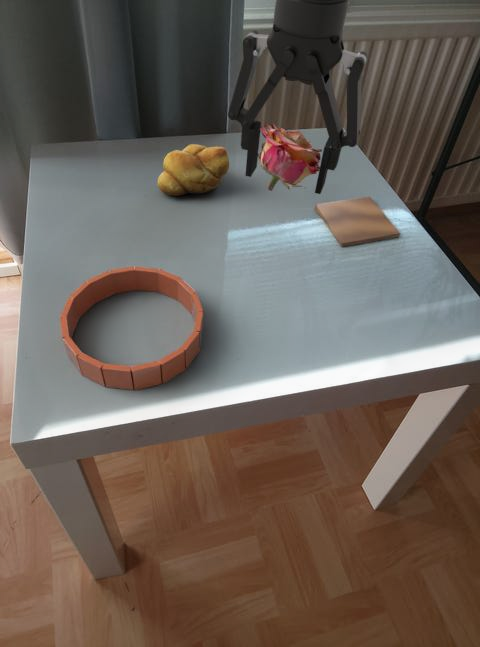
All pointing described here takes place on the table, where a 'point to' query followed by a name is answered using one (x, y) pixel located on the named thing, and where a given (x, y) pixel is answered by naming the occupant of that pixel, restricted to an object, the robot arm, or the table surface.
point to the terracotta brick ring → (125, 282)
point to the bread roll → (193, 170)
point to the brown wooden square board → (356, 221)
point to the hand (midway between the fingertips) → (285, 179)
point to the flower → (287, 156)
